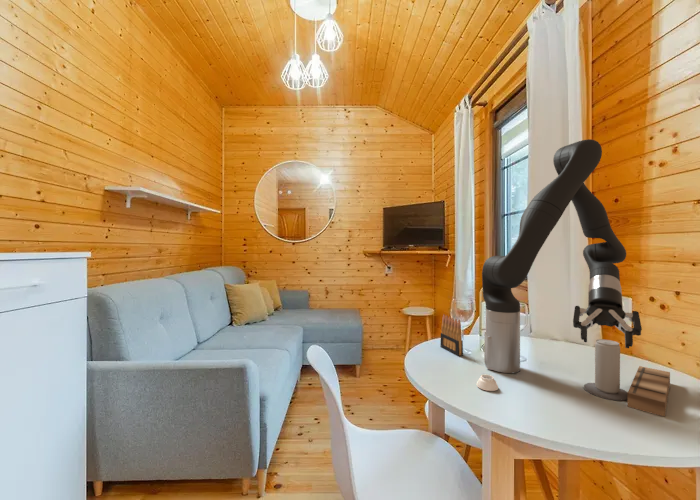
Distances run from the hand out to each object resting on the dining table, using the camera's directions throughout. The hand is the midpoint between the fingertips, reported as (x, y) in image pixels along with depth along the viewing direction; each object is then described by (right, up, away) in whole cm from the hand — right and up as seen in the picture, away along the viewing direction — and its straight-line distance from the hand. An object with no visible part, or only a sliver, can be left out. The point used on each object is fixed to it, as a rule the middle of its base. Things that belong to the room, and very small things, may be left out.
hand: (605, 343), depth 83 cm
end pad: (-3, -11, -4) cm, 12 cm away
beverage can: (-3, -11, -4) cm, 12 cm away
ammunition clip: (-31, -11, +27) cm, 43 cm away
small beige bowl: (-31, -11, -1) cm, 33 cm away
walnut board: (+7, -11, -5) cm, 14 cm away
